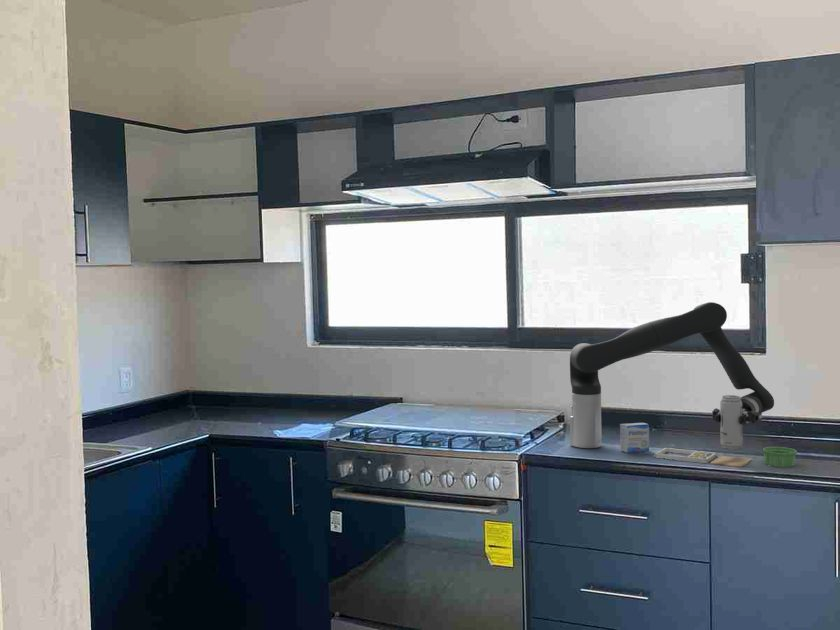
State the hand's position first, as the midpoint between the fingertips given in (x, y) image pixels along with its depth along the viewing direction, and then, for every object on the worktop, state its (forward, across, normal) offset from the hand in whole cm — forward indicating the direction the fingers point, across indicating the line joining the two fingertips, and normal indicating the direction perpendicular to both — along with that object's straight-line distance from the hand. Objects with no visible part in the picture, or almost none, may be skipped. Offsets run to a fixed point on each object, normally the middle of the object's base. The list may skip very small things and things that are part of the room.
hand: (729, 419), depth 241 cm
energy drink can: (-2, 0, +9) cm, 9 cm away
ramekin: (-6, +12, +13) cm, 19 cm away
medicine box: (-3, -30, +13) cm, 32 cm away
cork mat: (-2, 0, +13) cm, 13 cm away
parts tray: (-2, -13, +13) cm, 19 cm away
